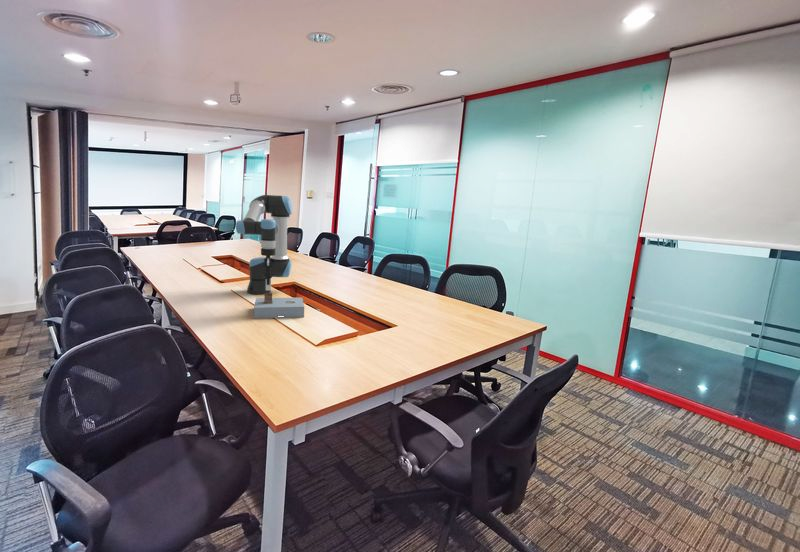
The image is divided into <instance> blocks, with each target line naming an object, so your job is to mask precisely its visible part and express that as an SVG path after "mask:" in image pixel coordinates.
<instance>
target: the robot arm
mask: <svg viewBox="0 0 800 552" xmlns="http://www.w3.org/2000/svg"><path fill="white" fill-rule="evenodd" d="M292 206H293V205H292V201H291V198H290V196H286V195H276V194H275V195H273V194H272V195H271V194H262V195H260V196H257V197H255V198H254V199H252V200H251V202H250V203H249V206H248V211H247V212H246V214H245V217H244V218H243V220H242V219H241V220H237V221H236V223H235V231H236V233H237V234H239V235H252V236H253V235H258V236H260V241H259V243H260V247H261V248H260V255H261V257H253V258H251V259H250V260H249V265H248V267H249V283H248V284H247V288H246V292H247V293H248V294H252V295H264V294H265V293H272V279H273V278H289V277H290V275H291V269H292V262H293V261H292V260H291V259H290V256H289V255H288V219H289V218H290V216H291V215H292V213H293V210H292V209H293V208H292ZM263 214H270V217H271V218H272V219H267V218H263V219H261V220H260V217H261V216H262V215H263ZM259 220H260V221H259Z"/></svg>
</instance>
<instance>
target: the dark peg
mask: <svg viewBox="0 0 800 552" xmlns="http://www.w3.org/2000/svg"><path fill="white" fill-rule="evenodd" d="M263 295H264V297H263V298H264V303H265V304H272V298H273V292H270V293H265V294H263Z"/></svg>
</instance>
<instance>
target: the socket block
mask: <svg viewBox="0 0 800 552" xmlns="http://www.w3.org/2000/svg"><path fill="white" fill-rule="evenodd" d="M287 300H294V303H287ZM278 316H284V317H289V318H290V319H291V318H304V317H305V305H304V298H303V297H302V296H301V297H272V304H265V303H264V297H256V298H255V302H254V307H253V319H276V318H275V317H278ZM289 318H288V319H289Z"/></svg>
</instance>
